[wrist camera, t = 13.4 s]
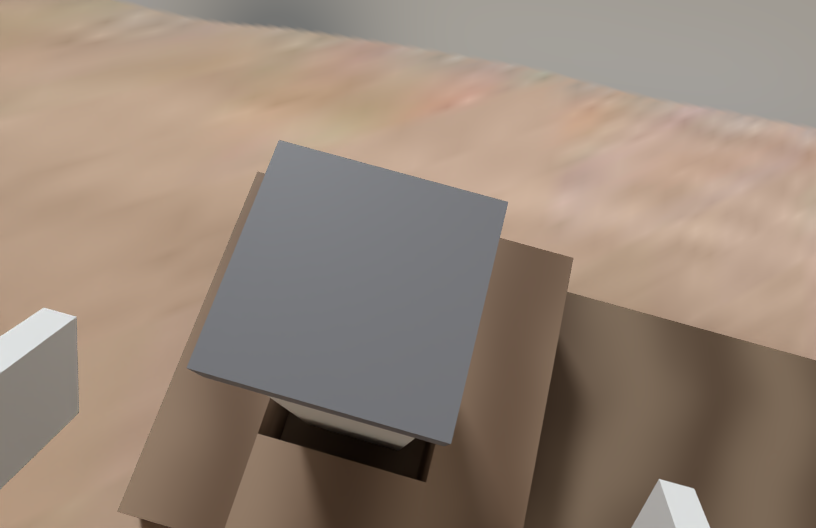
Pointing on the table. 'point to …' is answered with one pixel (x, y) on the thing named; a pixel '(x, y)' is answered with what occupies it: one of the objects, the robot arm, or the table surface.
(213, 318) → the post
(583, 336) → the wooden socket base
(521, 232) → the table surface
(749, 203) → the table surface
